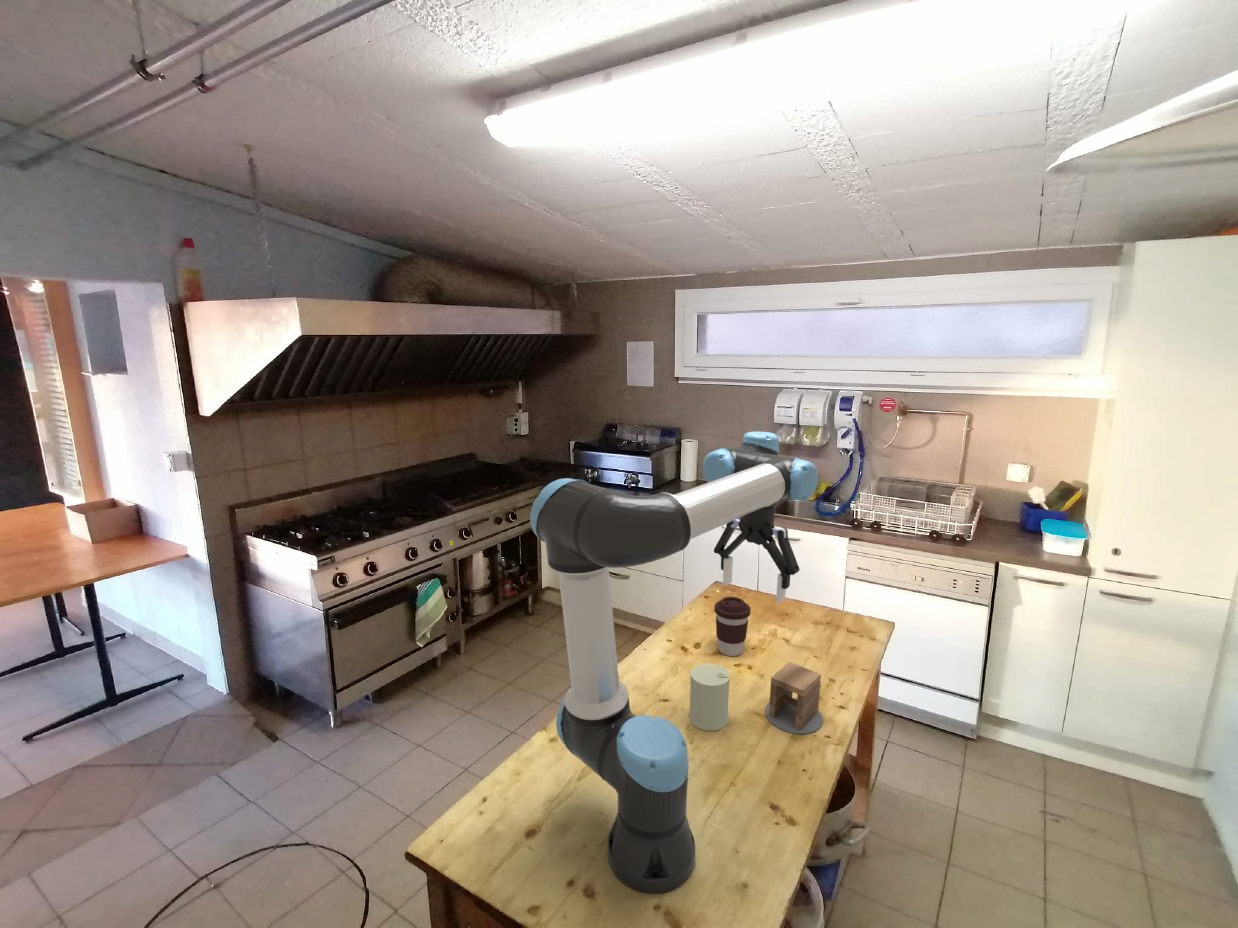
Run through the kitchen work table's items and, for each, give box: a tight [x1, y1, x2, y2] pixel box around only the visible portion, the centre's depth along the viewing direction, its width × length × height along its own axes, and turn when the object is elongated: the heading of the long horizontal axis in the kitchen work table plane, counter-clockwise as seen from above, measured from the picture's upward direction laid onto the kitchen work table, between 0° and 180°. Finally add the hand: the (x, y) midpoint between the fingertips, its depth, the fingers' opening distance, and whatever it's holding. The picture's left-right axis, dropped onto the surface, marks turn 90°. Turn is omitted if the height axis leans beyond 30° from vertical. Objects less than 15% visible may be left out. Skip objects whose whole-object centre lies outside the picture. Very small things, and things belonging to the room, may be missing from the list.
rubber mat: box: [764, 697, 824, 735], centre depth 139 cm, size 13×13×1 cm
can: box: [688, 663, 731, 732], centre depth 137 cm, size 9×9×12 cm
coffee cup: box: [714, 596, 751, 657], centre depth 167 cm, size 10×10×15 cm
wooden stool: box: [769, 661, 822, 730], centre depth 138 cm, size 8×9×10 cm
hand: (753, 592), depth 134 cm, fingers open, 13 cm apart
